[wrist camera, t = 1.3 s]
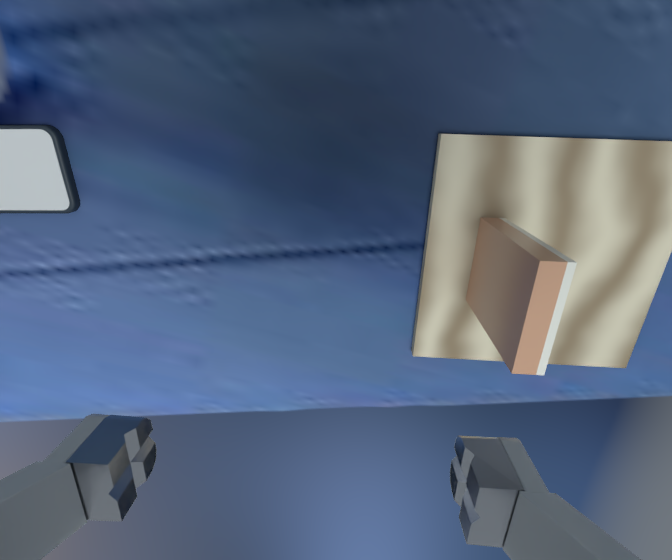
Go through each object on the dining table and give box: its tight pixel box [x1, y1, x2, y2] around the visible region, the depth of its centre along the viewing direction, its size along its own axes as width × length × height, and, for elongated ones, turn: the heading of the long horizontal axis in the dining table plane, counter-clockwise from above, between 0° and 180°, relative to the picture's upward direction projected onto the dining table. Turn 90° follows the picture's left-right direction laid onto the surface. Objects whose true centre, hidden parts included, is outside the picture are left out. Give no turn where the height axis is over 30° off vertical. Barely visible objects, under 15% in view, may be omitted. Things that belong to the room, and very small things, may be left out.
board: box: [411, 134, 672, 368], centre depth 39 cm, size 24×24×1 cm
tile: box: [466, 217, 577, 375], centre depth 32 cm, size 9×2×13 cm, turn 178°
